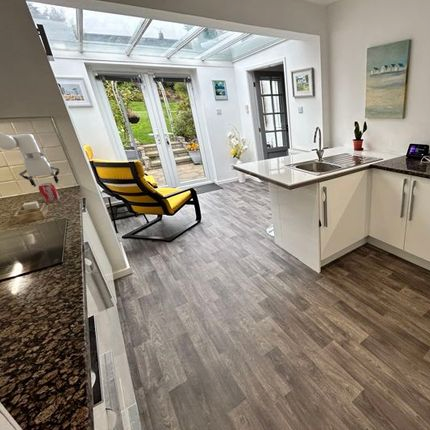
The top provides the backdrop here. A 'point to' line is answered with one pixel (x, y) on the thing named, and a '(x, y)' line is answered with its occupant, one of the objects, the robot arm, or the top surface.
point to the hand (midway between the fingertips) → (46, 184)
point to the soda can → (48, 192)
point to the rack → (31, 214)
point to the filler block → (30, 205)
